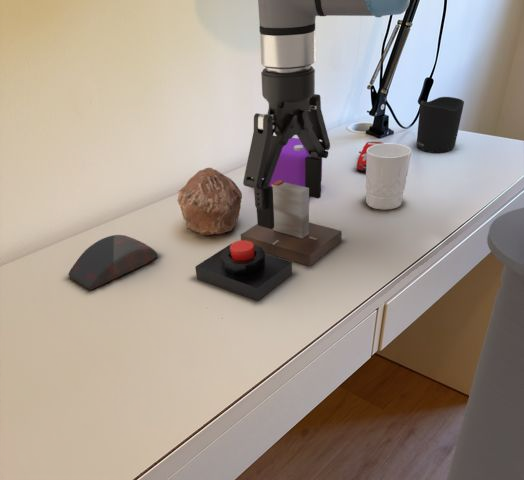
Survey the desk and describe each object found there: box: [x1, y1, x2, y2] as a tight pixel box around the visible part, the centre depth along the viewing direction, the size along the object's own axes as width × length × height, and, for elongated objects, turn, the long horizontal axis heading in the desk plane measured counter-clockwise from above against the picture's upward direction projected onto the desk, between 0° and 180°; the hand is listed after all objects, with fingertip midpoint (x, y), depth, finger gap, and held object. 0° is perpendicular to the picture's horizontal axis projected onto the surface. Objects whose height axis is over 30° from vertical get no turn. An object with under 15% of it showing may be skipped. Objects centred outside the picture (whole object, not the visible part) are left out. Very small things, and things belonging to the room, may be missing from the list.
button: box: [230, 239, 255, 261], centre depth 80 cm, size 4×4×2 cm
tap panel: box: [240, 221, 343, 267], centre depth 90 cm, size 14×10×2 cm
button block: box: [194, 243, 293, 302], centre depth 81 cm, size 12×9×4 cm
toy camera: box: [263, 137, 323, 187], centre depth 106 cm, size 11×14×10 cm
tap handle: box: [271, 180, 310, 239], centre depth 86 cm, size 6×2×8 cm, turn 53°
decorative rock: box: [177, 167, 243, 236], centre depth 94 cm, size 13×11×10 cm
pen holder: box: [416, 96, 465, 154], centre depth 122 cm, size 9×9×10 cm
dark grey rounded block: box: [67, 234, 158, 291], centre depth 85 cm, size 8×14×4 cm, turn 136°
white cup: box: [365, 142, 412, 210], centre depth 98 cm, size 8×8×10 cm
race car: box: [356, 141, 384, 172], centre depth 117 cm, size 13×5×4 cm, turn 162°
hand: (290, 210), depth 87 cm, fingers open, 13 cm apart
